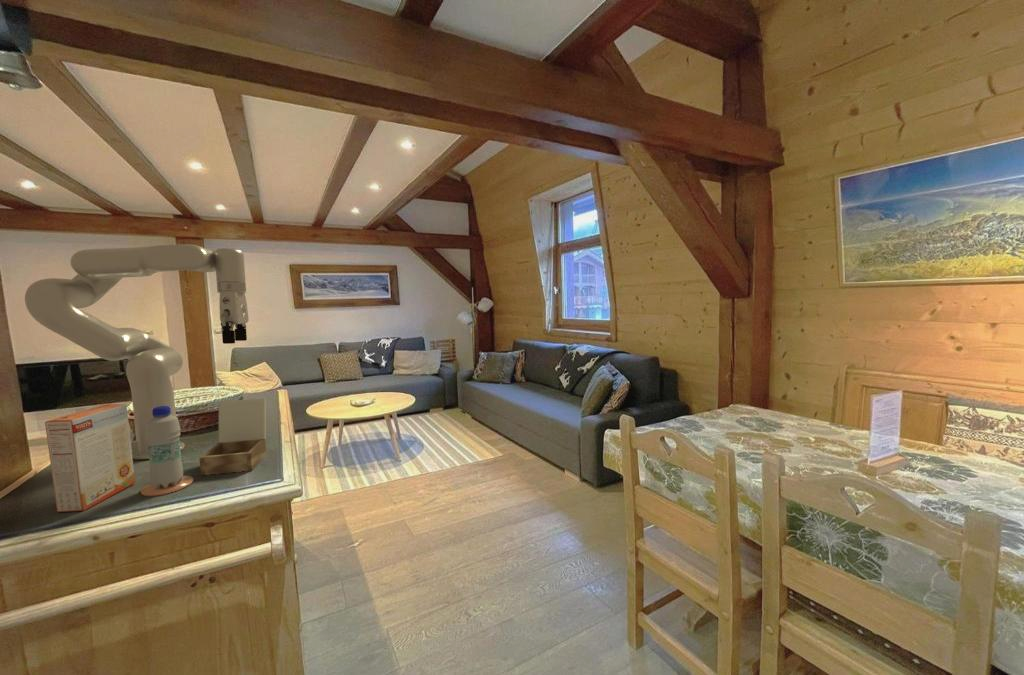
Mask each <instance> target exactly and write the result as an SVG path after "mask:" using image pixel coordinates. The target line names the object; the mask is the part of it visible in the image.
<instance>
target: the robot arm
mask: <svg viewBox="0 0 1024 675" xmlns="http://www.w3.org/2000/svg"><path fill="white" fill-rule="evenodd" d="M70 266H71V268H72V270H73V271H74V272H75V273H77V274H76V275H75V276H74V277H73V278H72V279H70V278H68V279H67V278H56V277H55V278H53V277H51V278H42V279H39V280H37V281H34V282H33V283H32V284H30V285H29V286H28V288H27V289H26V291H25V294H24V302H25V306H26V309H27V311H28V313H29V314H30V316H31V317H32V318H33V319H34V320H35V321H36V322H38V323H39V324H40V325H42V326H43V327H45V328H46V329H48V330H49V331H52V332H53V333H55V334H57V335H60V336H61V337H64V338H65V339H67V340H69V341H71V342H72V343H74V344H75V345H78V346H79V347H81V348H83V349H85V350H87V352H90V353H92V354H93V355H95V356H97V357H99V358H101V359H102V360H107V361H110V362H111V361H113V362H115V361H117V362H118V361H123V360H126V359H127V360H128V362H127V364H126V367H125V372H126V377H127V380H128V383H129V387H130V392H131V399H132V409H133V420H134V421H133V422H134V430H135V431H134V432H135V433H134V434H135V440H130V441H131V450H132V459H133V460H149V450H148V442H147V441H146V436H145V428H146V422H147V421H148V420H150V419H151V418H153V414H152V411H153V409H154V408H155V407H159V406H169V407H170V410H171V414H170V415H172V416H176V417H177V415H176V402H175V392H174V387H173V383H172V381H171V378H170V377H171V376H174V375H175V374H176V373H178V372H179V371H180V370H182V367H183V357H182V355H181V353H179V352H178V351H177V350H176V349H174V348H173V347H172V346H169V345H168V344H166V343H164V342H163V341H161V340H160V339H157V338H155V337H154V336H152V335H151V334H148V333H147V332H145V331H143V330H141V329H137V328H134V327H114V326H113V325H110V324H109V323H107V322H105V321H102V320H101V319H100V318H98V317H96V316H94V315H92V314H91V313H88V312H85V311H84V310H81V309H84V308H88V307H91V306H93V305H94V304H96V303H97V302H98V301H99V300H101V299H102V298H103V297H104V296H105V295H106V294H107V293H109V291H110V290H112V289H113V288H114V287H115V286H116V285H117V284H118V283H119V282H120V281H121V280H122V279H123V278H137V277H138V278H139V277H141V278H143V277H150V276H152V275H154V274H155V273H156V274H157V273H163V272H173V271H174V272H175V271H176V272H177V271H179V272H180V271H195V272H199V273H213V272H215V276H216V292H217V294H219V320H220V326H221V337H222V343H223V344H225V345H228V344H231V345H232V344H235V343H236V341H237V342H239V341H242V342H244V341H247V339H248V336H247V324H248V322H249V311H248V304H247V298H246V294H247V288H246V287H247V286H246V285H247V284H246V270H245V256H244V252H243V251H242V250H240V249H239V248H231V247H220V248H217V249H209V248H206V247H203V246H200V245H197V244H185V243H183V244H182V243H181V244H180V243H179V244H158V245H150V246H140V247H138V246H136V247H112V248H109V247H108V248H106V247H105V248H88V249H87V248H86V249H81V250H79V251H76V252H75V253H73V255H72V256H71V258H70ZM185 446H186V445H185V443H184V442H183V441H180V452H181V451H182V450H183V449H184V448H185Z"/></svg>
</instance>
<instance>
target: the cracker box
mask: <svg viewBox="0 0 1024 675" xmlns="http://www.w3.org/2000/svg"><path fill="white" fill-rule="evenodd" d="M44 426H45V433H46V440H47V448H48V455H49V461H50V462H49V463H50V469H51V476H52V478H51V479H52V484H53V489H54V490H53V491H54V499H55V505H56V512H57V513H67V512H83V511H86V510H88V509H89V508H92V507H95V505H97V504H99V503H101V502H103V501H104V500H107V499H108V498H110V497H112V496H113V495H116V494H117V493H120V492H121V491H124V490H125V489H127V488H128V487H131V486H132V485H134V484H136V479H135V470H134V469H135V468H134V459H132V452H133V449H131V441H132V440H131V433H130V423H129V415H128V406H127V404H126V403H124V404H122V403H119V404H113V403H111V404H110V403H109V404H103V405H99V406H95V407H92V408H89V409H85V410H81V411H78V412H74V413H70V414H67V415H64V416H59V417H56V418H53V419H50V420H49V419H48V420H46V421H45V422H44Z"/></svg>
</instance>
